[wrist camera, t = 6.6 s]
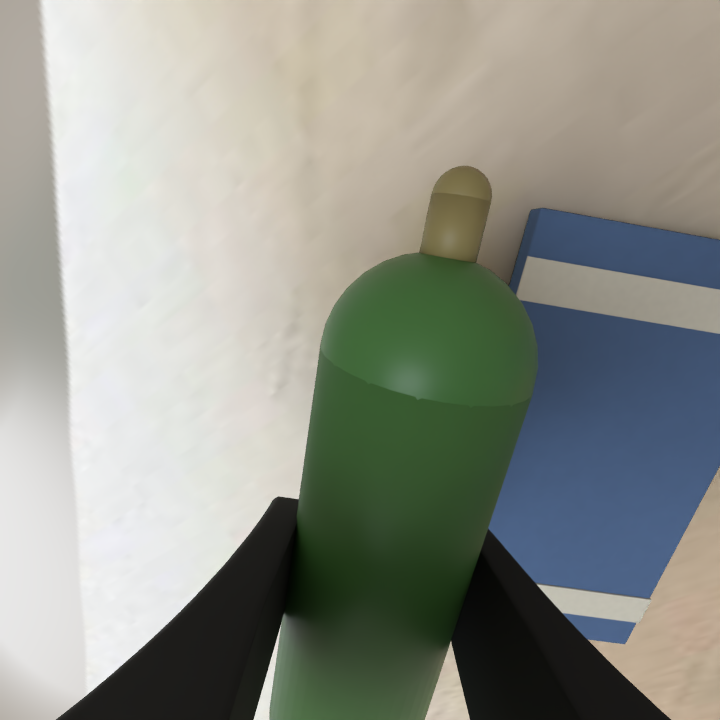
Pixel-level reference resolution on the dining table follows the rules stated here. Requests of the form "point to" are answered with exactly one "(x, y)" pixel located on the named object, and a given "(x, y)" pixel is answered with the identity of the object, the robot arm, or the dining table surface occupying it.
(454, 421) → the courgette
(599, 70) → the dining table surface
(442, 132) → the dining table surface
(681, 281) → the towel
